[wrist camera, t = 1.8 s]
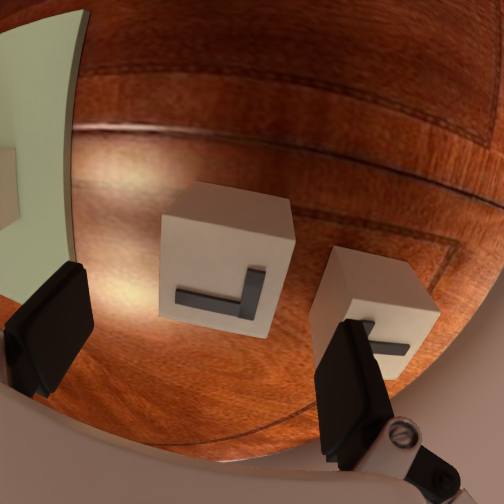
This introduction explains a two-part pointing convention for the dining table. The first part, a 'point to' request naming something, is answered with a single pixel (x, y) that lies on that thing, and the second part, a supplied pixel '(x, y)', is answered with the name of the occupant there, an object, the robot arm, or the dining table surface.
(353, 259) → the tile
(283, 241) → the tile
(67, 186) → the board
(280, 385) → the dining table surface
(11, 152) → the tile
